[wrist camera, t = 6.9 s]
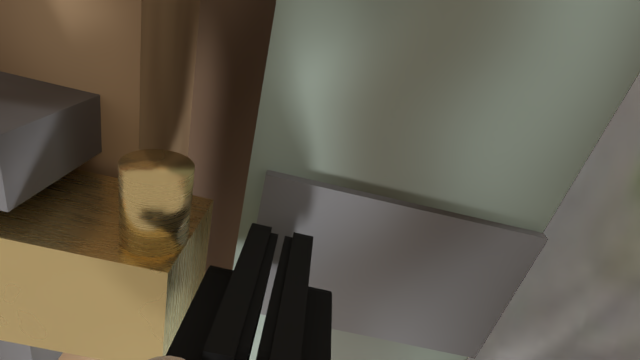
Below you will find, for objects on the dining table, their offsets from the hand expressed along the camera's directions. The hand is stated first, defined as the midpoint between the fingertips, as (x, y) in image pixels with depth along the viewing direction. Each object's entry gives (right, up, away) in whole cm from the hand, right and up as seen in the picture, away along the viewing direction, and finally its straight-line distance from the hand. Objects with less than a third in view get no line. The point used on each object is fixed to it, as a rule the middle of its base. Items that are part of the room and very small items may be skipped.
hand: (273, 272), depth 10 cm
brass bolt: (-5, +2, 0) cm, 5 cm away
